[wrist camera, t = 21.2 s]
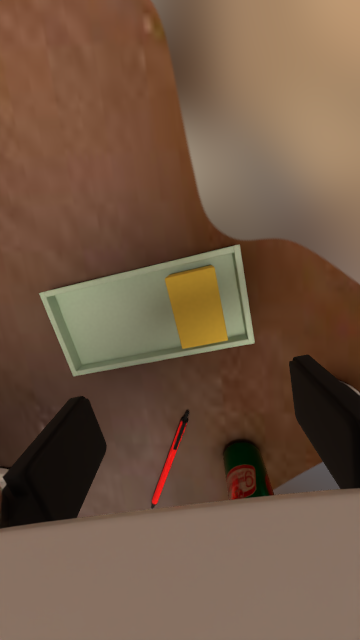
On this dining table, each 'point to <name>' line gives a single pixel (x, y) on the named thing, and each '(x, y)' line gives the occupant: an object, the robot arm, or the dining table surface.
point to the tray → (142, 314)
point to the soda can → (245, 472)
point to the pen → (170, 459)
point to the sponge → (197, 306)
